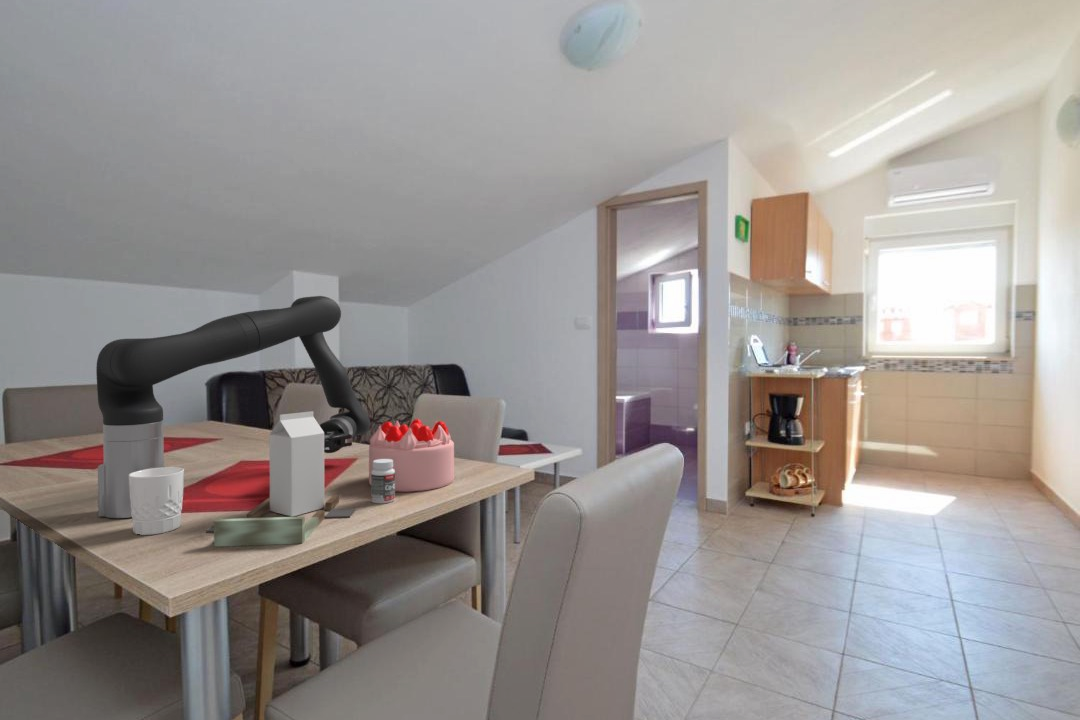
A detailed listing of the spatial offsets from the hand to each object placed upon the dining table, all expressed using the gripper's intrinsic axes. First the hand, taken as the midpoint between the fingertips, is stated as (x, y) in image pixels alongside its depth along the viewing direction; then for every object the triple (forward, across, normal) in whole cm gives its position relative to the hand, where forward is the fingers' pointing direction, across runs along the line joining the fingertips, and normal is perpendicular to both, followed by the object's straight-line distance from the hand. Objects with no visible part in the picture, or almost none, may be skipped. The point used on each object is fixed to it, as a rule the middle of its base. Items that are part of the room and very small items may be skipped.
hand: (312, 448), depth 115 cm
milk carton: (+10, 0, +10) cm, 14 cm away
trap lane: (+17, 0, +10) cm, 20 cm away
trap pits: (+17, 0, +10) cm, 20 cm away
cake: (-11, +19, +11) cm, 25 cm away
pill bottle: (+5, +15, +11) cm, 19 cm away
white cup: (+19, -21, +10) cm, 30 cm away
